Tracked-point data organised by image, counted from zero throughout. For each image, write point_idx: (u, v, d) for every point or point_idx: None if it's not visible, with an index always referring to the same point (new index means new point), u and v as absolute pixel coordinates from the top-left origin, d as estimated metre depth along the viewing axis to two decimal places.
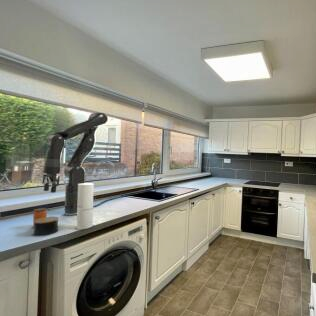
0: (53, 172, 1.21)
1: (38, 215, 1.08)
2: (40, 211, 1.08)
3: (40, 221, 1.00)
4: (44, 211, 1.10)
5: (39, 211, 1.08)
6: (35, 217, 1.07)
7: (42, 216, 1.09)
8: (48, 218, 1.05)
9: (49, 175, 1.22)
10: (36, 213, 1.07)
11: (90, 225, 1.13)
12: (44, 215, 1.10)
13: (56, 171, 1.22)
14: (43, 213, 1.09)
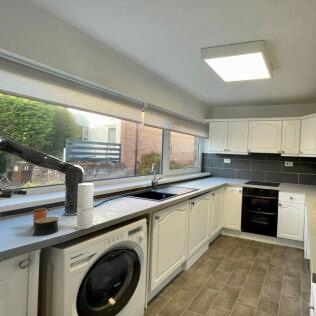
0: None
1: (38, 215, 1.08)
2: (40, 211, 1.08)
3: (40, 221, 1.00)
4: (44, 211, 1.10)
5: (39, 211, 1.08)
6: (35, 217, 1.07)
7: (42, 216, 1.09)
8: (48, 218, 1.05)
9: None
10: (36, 213, 1.07)
11: (90, 225, 1.13)
12: (44, 215, 1.10)
13: None
14: (43, 213, 1.09)
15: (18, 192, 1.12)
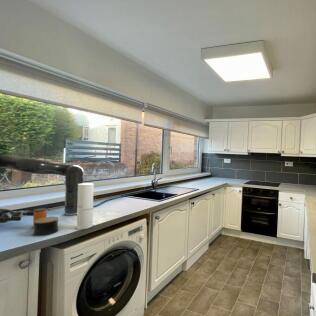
0: None
1: (38, 215, 1.08)
2: (40, 211, 1.08)
3: (40, 221, 1.00)
4: (44, 211, 1.10)
5: (39, 211, 1.08)
6: (35, 217, 1.07)
7: (42, 216, 1.09)
8: (48, 218, 1.05)
9: None
10: (36, 213, 1.07)
11: (90, 225, 1.13)
12: (44, 215, 1.10)
13: None
14: (43, 213, 1.09)
15: (27, 213, 1.13)
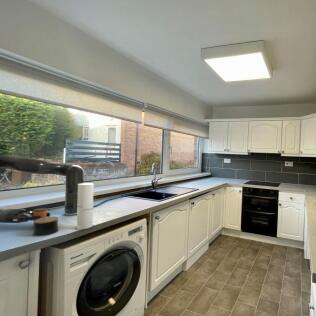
0: (12, 219, 1.05)
1: (38, 215, 1.08)
2: (40, 211, 1.08)
3: (40, 221, 1.00)
4: (44, 211, 1.10)
5: (39, 211, 1.08)
6: None
7: (42, 216, 1.09)
8: (48, 218, 1.05)
9: None
10: (36, 213, 1.07)
11: (90, 225, 1.13)
12: (44, 215, 1.10)
13: (11, 216, 1.05)
14: (43, 213, 1.09)
15: None
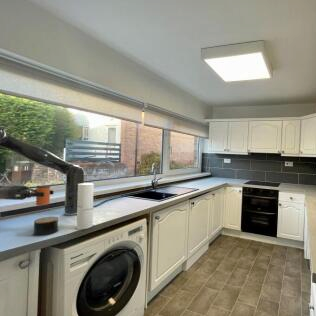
0: (15, 195, 1.02)
1: None
2: (43, 187, 1.05)
3: (40, 221, 1.00)
4: (47, 188, 1.06)
5: (42, 187, 1.04)
6: None
7: (45, 193, 1.06)
8: (48, 218, 1.05)
9: None
10: (39, 189, 1.04)
11: (90, 225, 1.13)
12: (47, 192, 1.06)
13: (14, 192, 1.02)
14: (46, 190, 1.06)
15: None
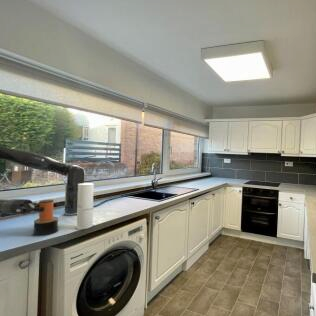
0: None
1: (44, 207, 1.01)
2: (46, 202, 1.01)
3: (40, 221, 1.00)
4: (51, 202, 1.03)
5: (45, 202, 1.01)
6: None
7: (49, 208, 1.02)
8: None
9: None
10: (42, 204, 1.00)
11: (90, 225, 1.13)
12: (51, 207, 1.03)
13: (16, 206, 0.98)
14: (50, 205, 1.02)
15: None
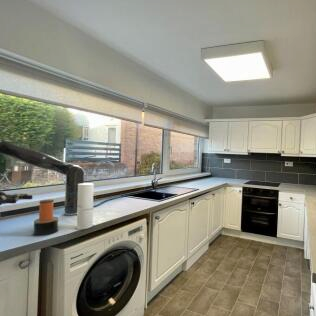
0: None
1: (44, 207, 1.01)
2: (46, 202, 1.01)
3: (40, 221, 1.00)
4: (51, 202, 1.03)
5: (45, 202, 1.01)
6: (41, 209, 1.00)
7: (49, 208, 1.02)
8: None
9: None
10: (42, 204, 1.00)
11: (90, 225, 1.13)
12: (51, 207, 1.03)
13: None
14: (50, 205, 1.02)
15: (23, 197, 1.05)
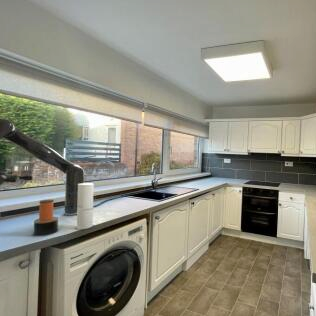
0: None
1: (44, 207, 1.01)
2: (46, 202, 1.01)
3: (40, 221, 1.00)
4: (51, 202, 1.03)
5: (45, 202, 1.01)
6: (41, 209, 1.00)
7: (49, 208, 1.02)
8: None
9: None
10: (42, 204, 1.00)
11: (90, 225, 1.13)
12: (51, 207, 1.03)
13: None
14: (50, 205, 1.02)
15: (24, 177, 1.05)
